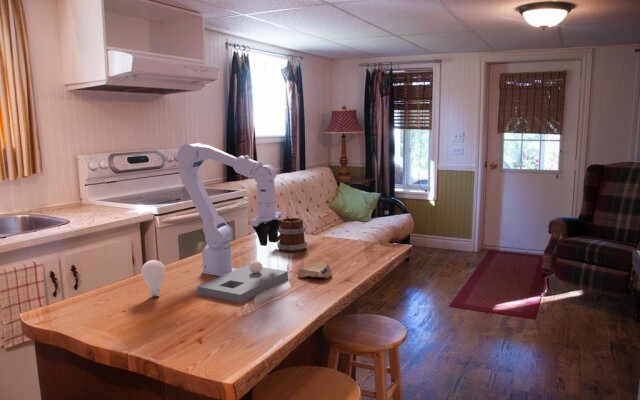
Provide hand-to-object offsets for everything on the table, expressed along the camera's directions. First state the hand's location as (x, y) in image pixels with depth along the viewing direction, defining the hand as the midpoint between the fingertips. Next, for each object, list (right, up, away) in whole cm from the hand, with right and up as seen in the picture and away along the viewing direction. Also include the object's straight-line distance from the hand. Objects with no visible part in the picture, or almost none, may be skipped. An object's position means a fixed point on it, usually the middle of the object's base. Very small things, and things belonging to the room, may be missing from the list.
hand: (268, 243), depth 165 cm
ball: (-3, -7, -5) cm, 9 cm away
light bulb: (-31, -14, -17) cm, 38 cm away
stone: (+15, -11, -1) cm, 19 cm away
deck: (-6, -12, -9) cm, 17 cm away
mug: (+5, -5, +33) cm, 34 cm away
